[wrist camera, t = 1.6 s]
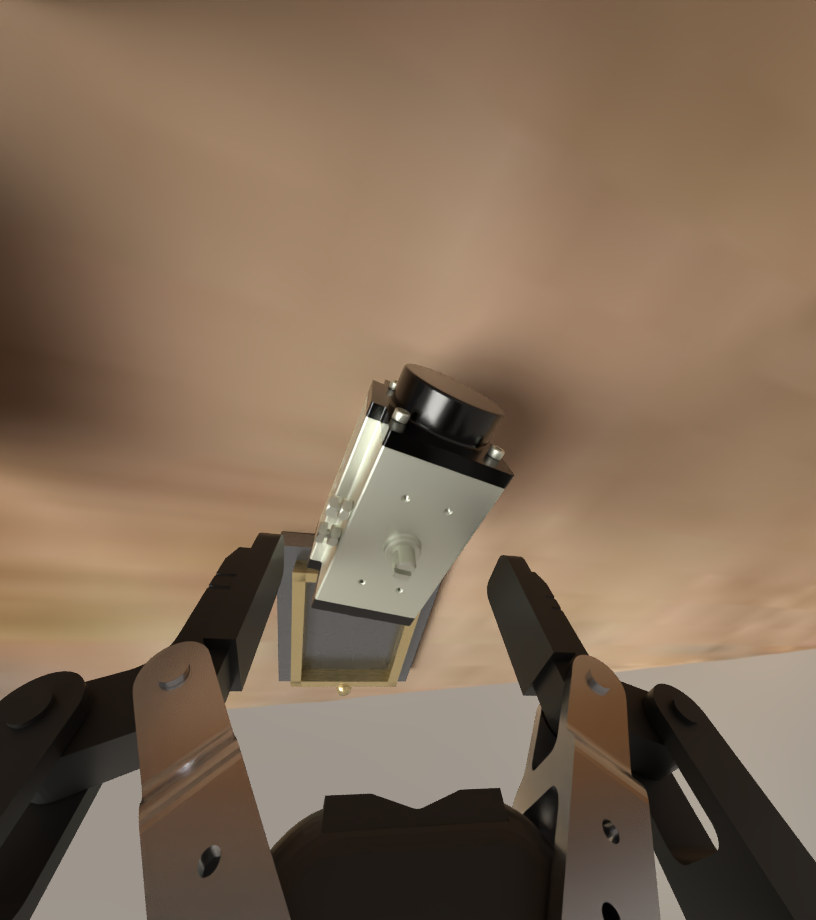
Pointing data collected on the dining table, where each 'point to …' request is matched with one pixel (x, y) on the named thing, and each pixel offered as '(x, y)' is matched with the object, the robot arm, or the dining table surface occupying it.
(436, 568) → the pneumatic valve
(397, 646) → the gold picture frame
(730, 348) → the dining table surface
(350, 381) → the dining table surface
